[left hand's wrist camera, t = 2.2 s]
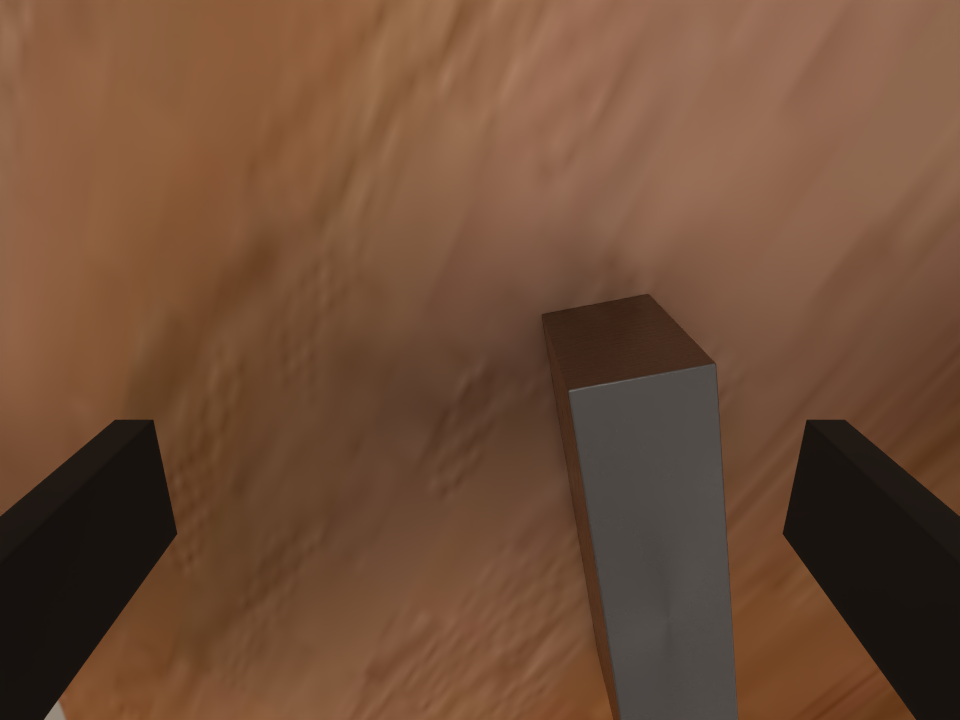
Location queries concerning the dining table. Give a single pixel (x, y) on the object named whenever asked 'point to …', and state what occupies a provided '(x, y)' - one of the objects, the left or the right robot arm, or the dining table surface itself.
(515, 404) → the dining table surface
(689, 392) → the bar
